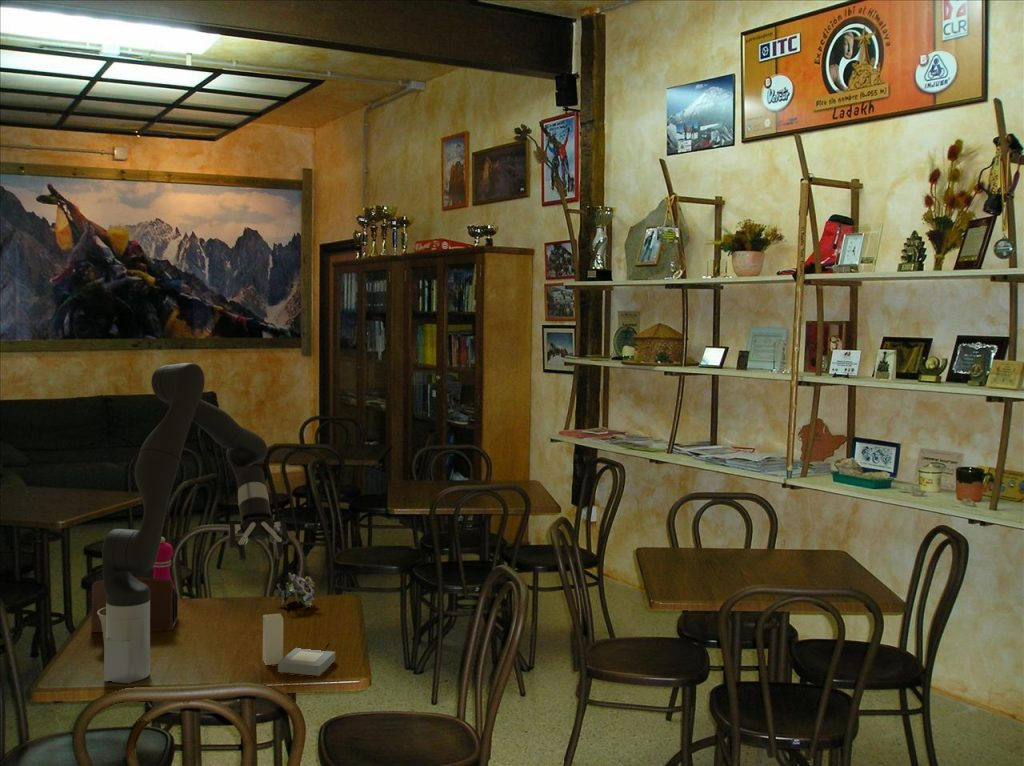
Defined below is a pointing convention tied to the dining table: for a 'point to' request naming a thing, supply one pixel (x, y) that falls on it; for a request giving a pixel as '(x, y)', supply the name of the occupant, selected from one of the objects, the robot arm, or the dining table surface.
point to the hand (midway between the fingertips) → (261, 559)
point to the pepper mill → (163, 561)
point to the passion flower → (298, 590)
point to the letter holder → (160, 604)
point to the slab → (306, 661)
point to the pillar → (272, 638)
